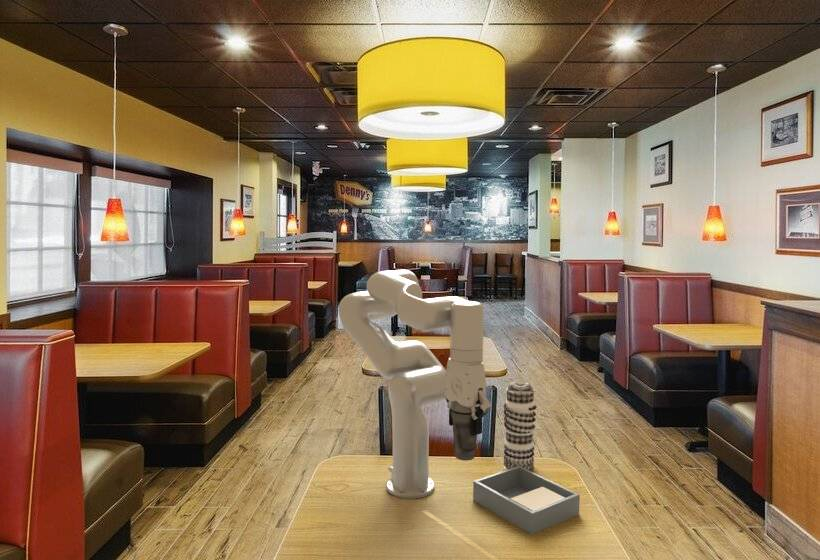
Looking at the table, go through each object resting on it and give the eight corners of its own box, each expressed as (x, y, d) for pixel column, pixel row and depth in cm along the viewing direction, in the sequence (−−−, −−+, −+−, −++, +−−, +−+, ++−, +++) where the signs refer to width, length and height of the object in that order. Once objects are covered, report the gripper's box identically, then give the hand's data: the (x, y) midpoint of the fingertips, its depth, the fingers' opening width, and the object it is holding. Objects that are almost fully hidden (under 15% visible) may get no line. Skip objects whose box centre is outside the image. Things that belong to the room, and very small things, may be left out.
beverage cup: (479, 464, 137) (480, 379, 135) (447, 461, 139) (448, 377, 137) (481, 451, 144) (483, 370, 142) (451, 449, 146) (452, 368, 144)
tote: (473, 503, 151) (473, 481, 151) (518, 487, 160) (519, 465, 160) (531, 539, 135) (532, 513, 134) (578, 518, 144) (579, 494, 143)
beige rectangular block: (510, 514, 144) (510, 498, 144) (542, 501, 150) (542, 486, 150) (535, 528, 137) (535, 512, 137) (567, 515, 144) (567, 499, 143)
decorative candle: (525, 461, 177) (527, 378, 174) (541, 474, 168) (543, 387, 166) (497, 465, 175) (498, 380, 172) (511, 478, 166) (513, 390, 163)
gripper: (430, 349, 144) (430, 421, 146) (479, 365, 130) (477, 444, 132) (455, 345, 148) (454, 415, 150) (504, 360, 134) (502, 437, 136)
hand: (465, 428), depth 141 cm, fingers closed on beverage cup, 7 cm apart
